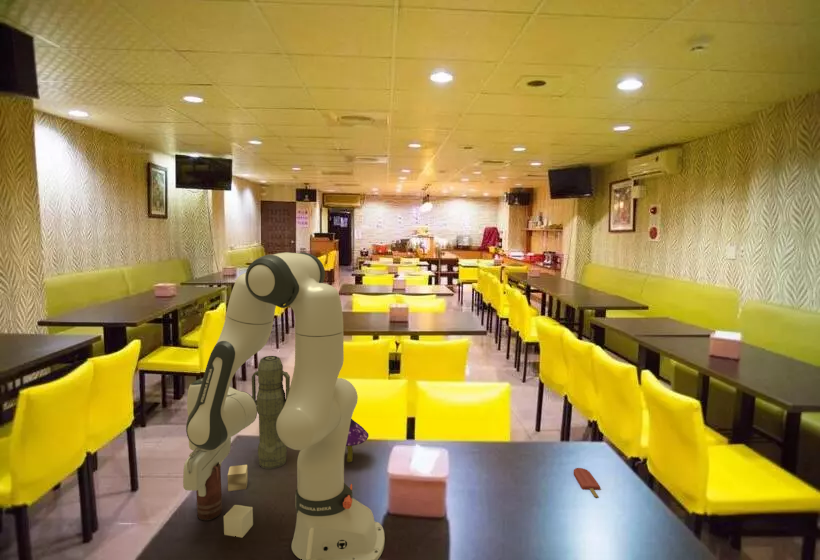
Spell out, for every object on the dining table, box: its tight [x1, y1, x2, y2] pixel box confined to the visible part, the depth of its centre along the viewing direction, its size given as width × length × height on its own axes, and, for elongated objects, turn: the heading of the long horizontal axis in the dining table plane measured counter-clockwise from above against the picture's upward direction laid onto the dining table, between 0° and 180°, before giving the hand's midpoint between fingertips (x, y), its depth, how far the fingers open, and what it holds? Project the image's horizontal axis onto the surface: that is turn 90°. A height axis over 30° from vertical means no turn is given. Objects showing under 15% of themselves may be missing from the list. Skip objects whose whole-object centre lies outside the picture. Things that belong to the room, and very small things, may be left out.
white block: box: [223, 504, 254, 539], centre depth 118 cm, size 5×5×5 cm
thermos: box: [251, 355, 291, 470], centre depth 150 cm, size 9×12×35 cm
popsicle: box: [573, 467, 601, 498], centre depth 141 cm, size 5×2×15 cm
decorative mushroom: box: [346, 418, 370, 463], centre depth 152 cm, size 12×12×15 cm
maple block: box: [227, 464, 249, 492], centre depth 138 cm, size 5×5×5 cm
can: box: [195, 462, 223, 522], centre depth 124 cm, size 6×6×14 cm
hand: (209, 487), depth 124 cm, fingers closed on can, 6 cm apart
